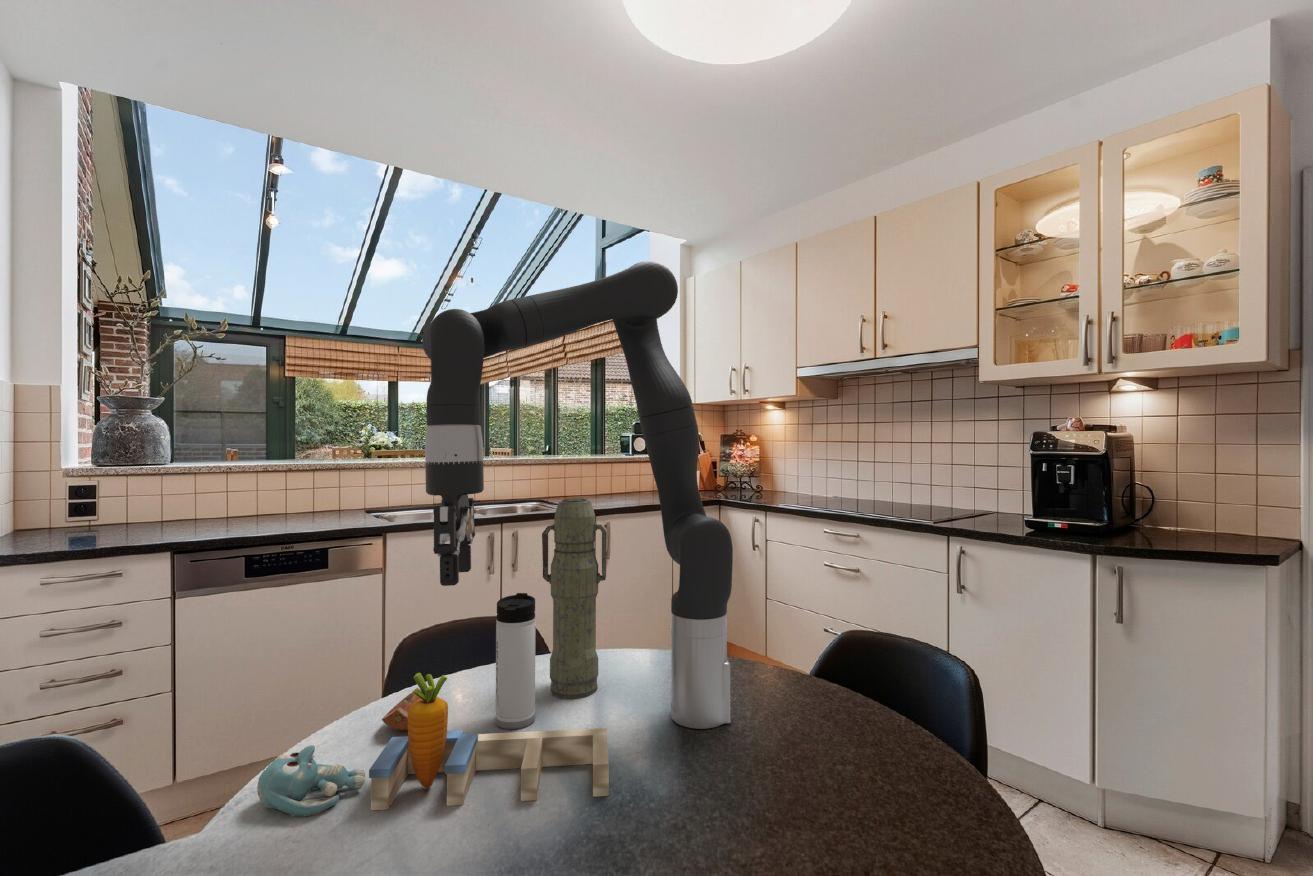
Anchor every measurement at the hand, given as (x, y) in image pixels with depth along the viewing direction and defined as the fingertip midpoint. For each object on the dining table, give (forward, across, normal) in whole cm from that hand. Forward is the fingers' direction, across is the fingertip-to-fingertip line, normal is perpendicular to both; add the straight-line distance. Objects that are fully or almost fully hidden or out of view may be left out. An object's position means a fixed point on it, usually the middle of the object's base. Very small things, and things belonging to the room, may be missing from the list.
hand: (456, 578), depth 81 cm
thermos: (+27, +28, -15) cm, 42 cm away
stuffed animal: (+27, -3, +17) cm, 32 cm away
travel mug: (+27, +16, -6) cm, 32 cm away
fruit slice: (+27, +15, +11) cm, 33 cm away
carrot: (+27, -3, +4) cm, 27 cm away
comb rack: (+27, -3, -5) cm, 28 cm away
